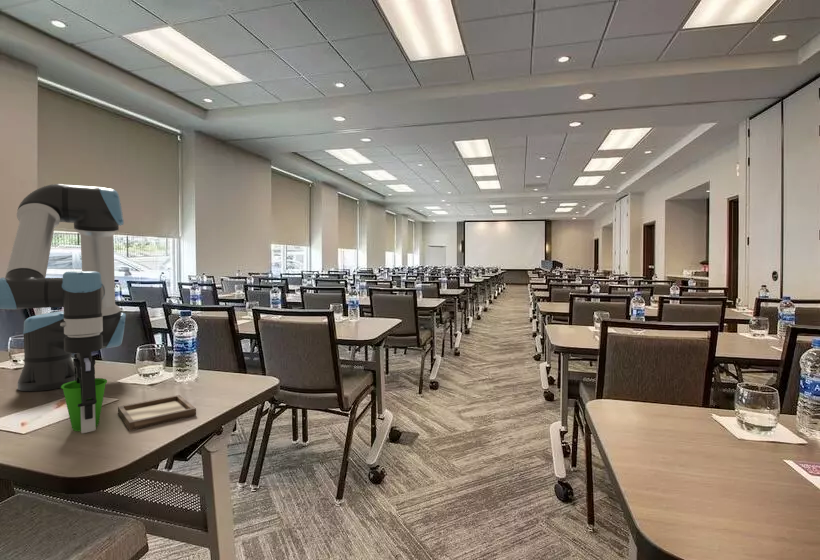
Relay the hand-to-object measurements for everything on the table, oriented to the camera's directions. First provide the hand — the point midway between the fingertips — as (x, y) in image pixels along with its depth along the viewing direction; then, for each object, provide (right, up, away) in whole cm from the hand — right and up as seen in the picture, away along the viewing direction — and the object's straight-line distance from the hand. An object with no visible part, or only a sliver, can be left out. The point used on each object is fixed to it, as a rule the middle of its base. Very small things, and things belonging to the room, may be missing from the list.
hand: (85, 425), depth 105 cm
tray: (+12, 0, +9) cm, 15 cm away
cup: (0, -1, 0) cm, 1 cm away
